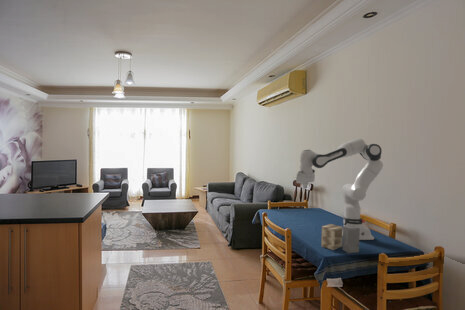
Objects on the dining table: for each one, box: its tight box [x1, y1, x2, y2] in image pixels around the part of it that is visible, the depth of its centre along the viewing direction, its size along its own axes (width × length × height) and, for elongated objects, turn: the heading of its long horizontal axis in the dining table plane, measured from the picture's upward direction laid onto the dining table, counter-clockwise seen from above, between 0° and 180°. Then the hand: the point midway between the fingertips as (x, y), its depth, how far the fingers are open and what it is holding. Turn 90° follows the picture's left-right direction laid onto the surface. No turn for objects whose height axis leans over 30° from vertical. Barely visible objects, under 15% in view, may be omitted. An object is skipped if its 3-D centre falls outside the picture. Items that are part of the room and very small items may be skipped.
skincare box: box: [341, 225, 360, 254], centre depth 195 cm, size 8×7×16 cm
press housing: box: [320, 223, 343, 251], centre depth 203 cm, size 9×11×14 cm
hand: (305, 188), depth 236 cm, fingers closed
